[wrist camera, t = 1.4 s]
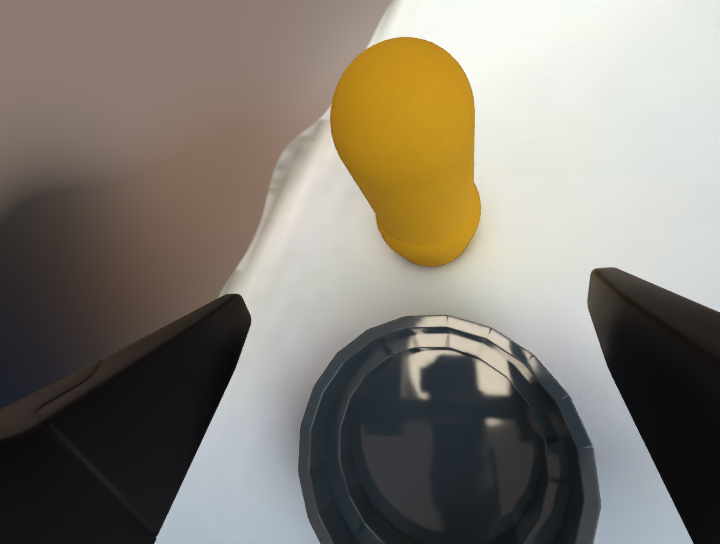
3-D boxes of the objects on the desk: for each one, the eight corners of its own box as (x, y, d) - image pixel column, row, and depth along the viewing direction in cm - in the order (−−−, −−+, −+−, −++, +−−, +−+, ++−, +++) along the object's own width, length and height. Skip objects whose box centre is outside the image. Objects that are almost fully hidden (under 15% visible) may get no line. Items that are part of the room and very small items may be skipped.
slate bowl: (536, 633, 17) (558, 723, 13) (303, 505, 21) (262, 540, 17) (593, 365, 19) (629, 366, 14) (368, 299, 23) (346, 285, 19)
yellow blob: (465, 283, 21) (459, 171, 9) (376, 260, 23) (269, 143, 11) (490, 195, 22) (514, -19, 10) (402, 181, 24) (329, -13, 12)
